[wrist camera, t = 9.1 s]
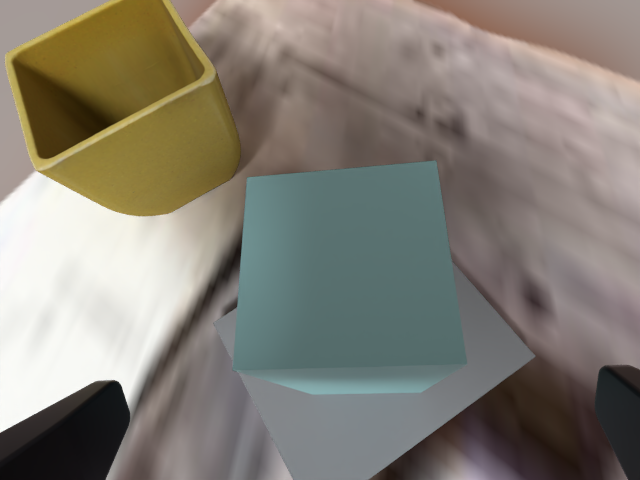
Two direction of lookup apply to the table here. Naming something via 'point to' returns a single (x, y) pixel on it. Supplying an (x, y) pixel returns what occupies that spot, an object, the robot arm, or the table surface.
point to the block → (348, 282)
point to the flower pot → (125, 108)
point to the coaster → (381, 401)
